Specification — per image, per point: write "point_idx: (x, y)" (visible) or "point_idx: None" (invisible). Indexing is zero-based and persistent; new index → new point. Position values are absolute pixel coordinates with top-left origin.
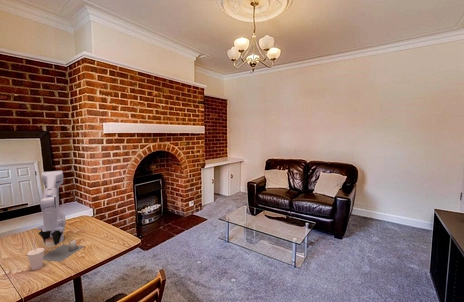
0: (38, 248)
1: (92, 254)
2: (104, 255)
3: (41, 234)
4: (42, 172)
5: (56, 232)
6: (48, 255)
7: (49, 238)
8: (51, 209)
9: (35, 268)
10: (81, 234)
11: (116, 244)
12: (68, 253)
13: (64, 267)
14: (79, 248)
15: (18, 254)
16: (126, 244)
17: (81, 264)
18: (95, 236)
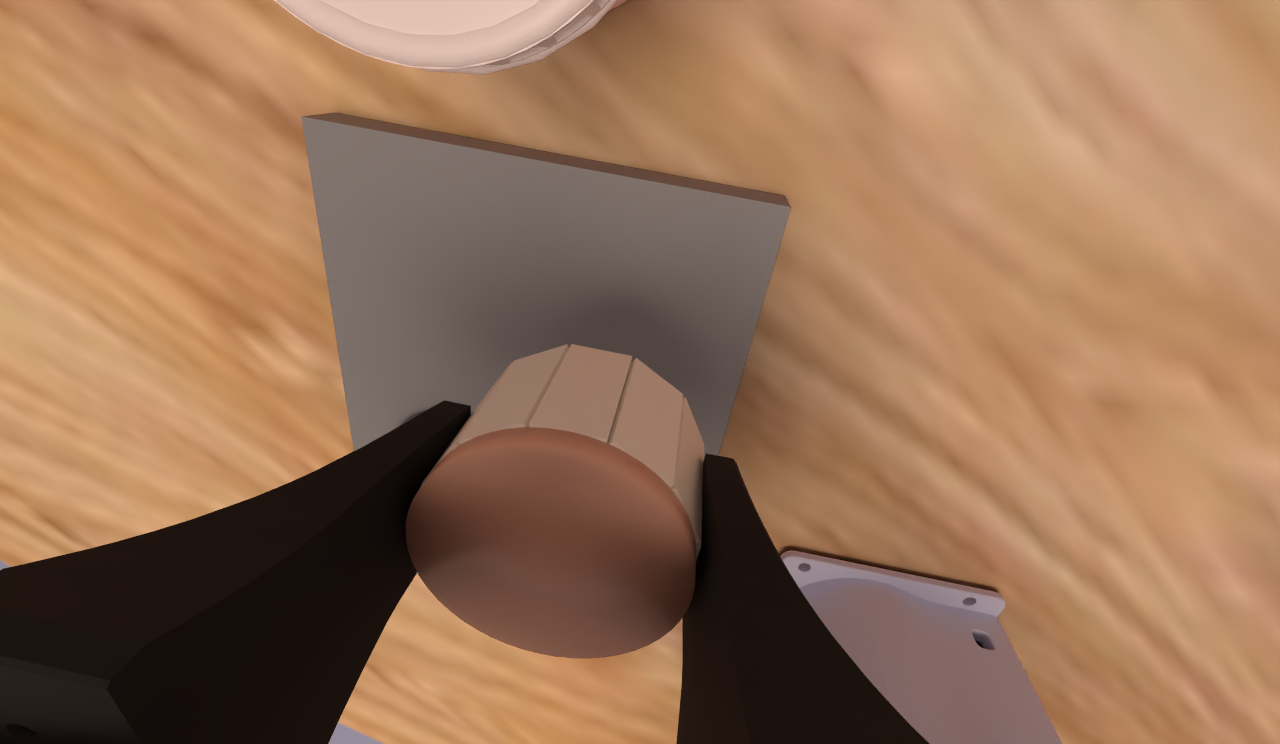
0: (510, 13)
1: (167, 356)
2: (3, 325)
3: (797, 726)
4: None
5: (2, 737)
6: (680, 320)
7: (613, 571)
8: None
9: None
10: (676, 729)
11: (124, 524)
12: (414, 356)
13: (202, 25)
14: None
15: (1266, 431)
16: (25, 514)
17: (45, 114)
18: (492, 678)
